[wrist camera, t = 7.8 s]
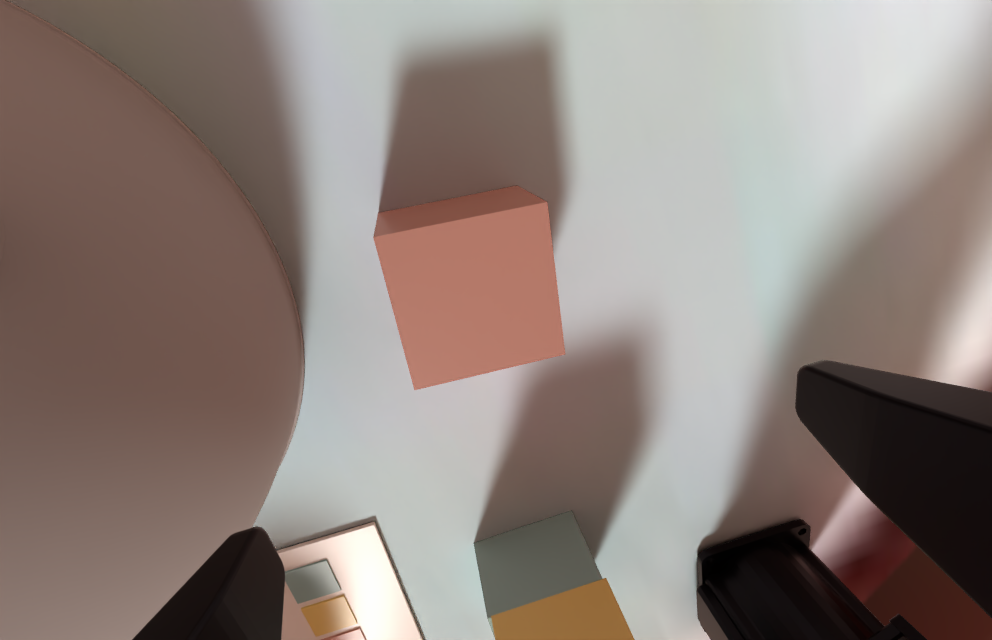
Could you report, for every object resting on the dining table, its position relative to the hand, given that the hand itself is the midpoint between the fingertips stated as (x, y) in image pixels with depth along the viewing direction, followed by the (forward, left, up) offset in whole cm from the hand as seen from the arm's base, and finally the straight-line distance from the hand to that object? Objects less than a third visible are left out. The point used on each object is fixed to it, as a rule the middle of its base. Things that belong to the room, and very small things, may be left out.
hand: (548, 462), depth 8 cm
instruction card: (+10, +15, -11) cm, 21 cm away
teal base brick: (0, +16, -12) cm, 20 cm away
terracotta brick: (0, 0, -12) cm, 12 cm away
